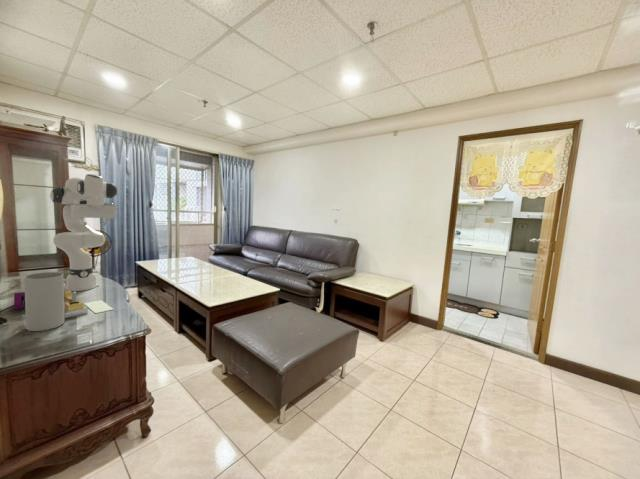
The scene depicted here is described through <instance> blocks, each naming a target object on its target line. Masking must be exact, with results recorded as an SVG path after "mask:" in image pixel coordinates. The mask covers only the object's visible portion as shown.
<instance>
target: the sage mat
mask: <svg viewBox="0 0 640 479" xmlns="http://www.w3.org/2000/svg"><path fill="white" fill-rule="evenodd" d="M83 305H85V306H86V307H87V308H88V310H89V309H90V310H91V311H92V313H94V314H95V315H96V314H100V313H104V312H109V311H114V308H113V307H111V306H110V305H109V304H108V303H106V302H104V301H103V300H102V299H100V300H96V301H95V300H94V301H90V302H89V301H88V302H83Z"/></svg>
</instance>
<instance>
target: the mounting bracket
mask: <svg viewBox="0 0 640 479" xmlns="http://www.w3.org/2000/svg"><path fill="white" fill-rule="evenodd" d="M13 296H14V298H13V307H14V310H15V311H18V310H19V311H21V310H23V308H24V302H25V291H22V292H14V293H13Z"/></svg>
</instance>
